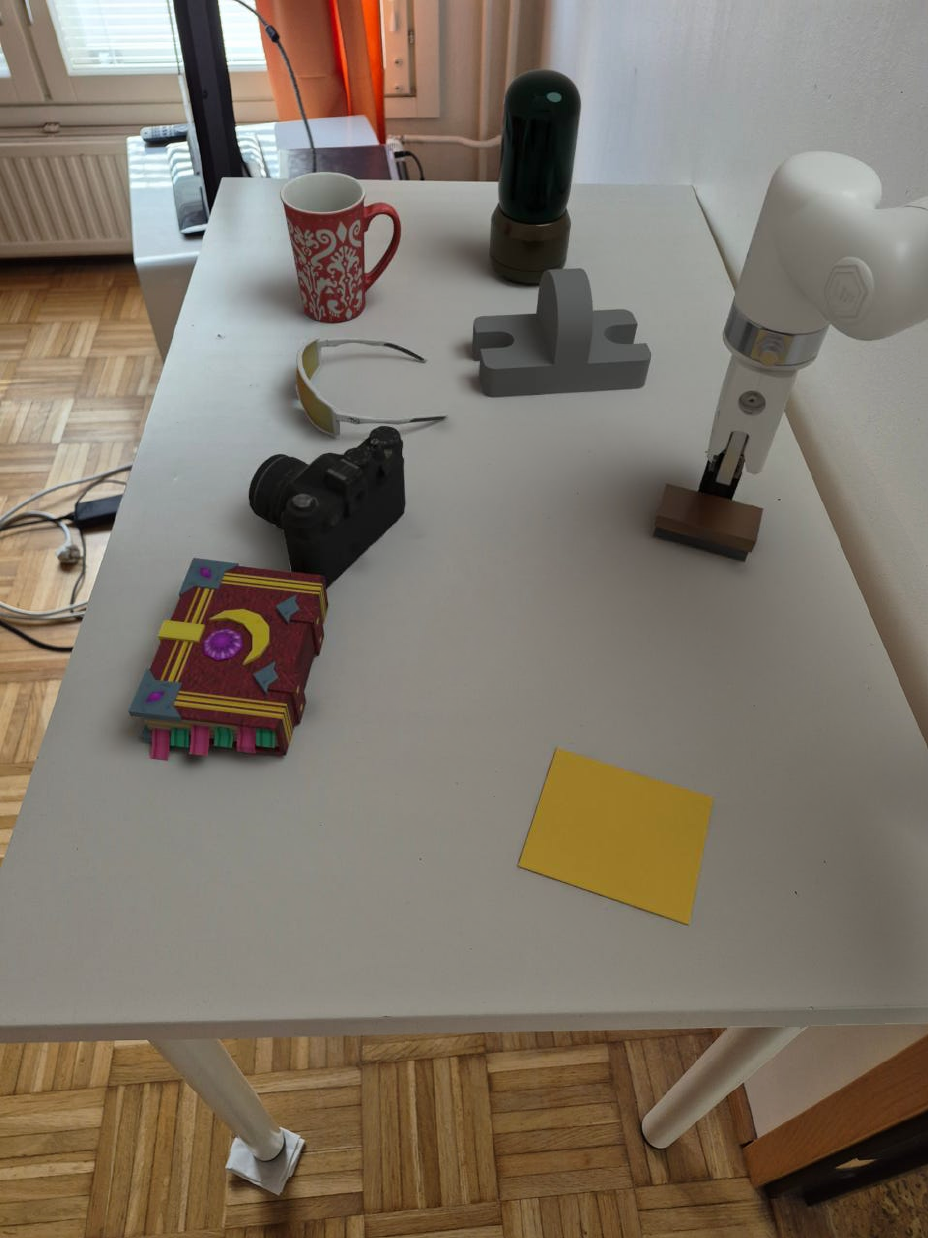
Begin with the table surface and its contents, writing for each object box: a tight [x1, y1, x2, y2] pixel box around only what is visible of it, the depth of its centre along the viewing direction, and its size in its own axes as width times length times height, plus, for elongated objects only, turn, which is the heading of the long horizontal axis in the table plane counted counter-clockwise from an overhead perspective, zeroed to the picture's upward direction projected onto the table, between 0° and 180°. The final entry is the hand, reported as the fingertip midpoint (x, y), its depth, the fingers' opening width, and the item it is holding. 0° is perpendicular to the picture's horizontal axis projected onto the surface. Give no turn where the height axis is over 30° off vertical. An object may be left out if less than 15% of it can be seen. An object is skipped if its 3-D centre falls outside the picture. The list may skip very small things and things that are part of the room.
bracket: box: [471, 267, 652, 398], centre depth 94 cm, size 10×18×11 cm, turn 98°
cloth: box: [517, 747, 714, 926], centre depth 63 cm, size 12×10×1 cm
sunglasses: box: [295, 336, 450, 438], centre depth 92 cm, size 14×15×5 cm
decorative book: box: [127, 557, 329, 761], centre depth 69 cm, size 11×16×5 cm
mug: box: [279, 171, 402, 324], centre depth 99 cm, size 13×9×14 cm
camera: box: [247, 425, 407, 590], centre depth 77 cm, size 14×11×10 cm
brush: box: [652, 482, 764, 563], centre depth 81 cm, size 9×4×3 cm, turn 70°
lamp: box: [488, 68, 582, 285], centre depth 102 cm, size 10×10×22 cm
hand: (714, 496), depth 84 cm, fingers closed
